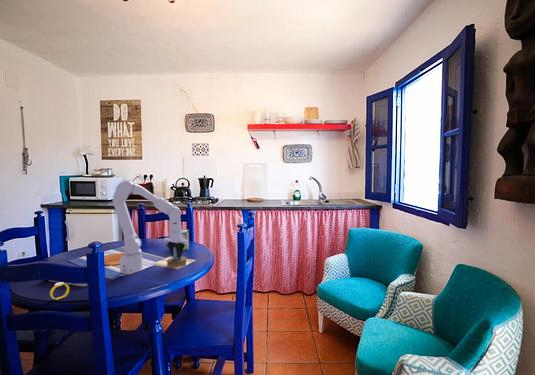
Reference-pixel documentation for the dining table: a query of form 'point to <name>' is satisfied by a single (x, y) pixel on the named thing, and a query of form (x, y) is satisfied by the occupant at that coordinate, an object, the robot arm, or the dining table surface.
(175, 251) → the peg
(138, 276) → the dining table surface
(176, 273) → the dining table surface
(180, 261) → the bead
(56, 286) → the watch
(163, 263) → the board
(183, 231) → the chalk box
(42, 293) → the dining table surface
